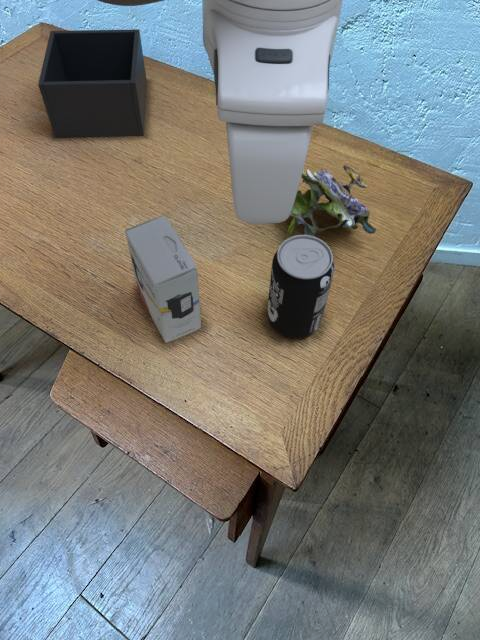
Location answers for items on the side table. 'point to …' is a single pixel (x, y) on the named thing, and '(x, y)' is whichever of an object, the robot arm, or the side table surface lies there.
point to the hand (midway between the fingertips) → (256, 177)
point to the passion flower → (329, 203)
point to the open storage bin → (94, 83)
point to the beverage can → (299, 286)
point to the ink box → (165, 277)
